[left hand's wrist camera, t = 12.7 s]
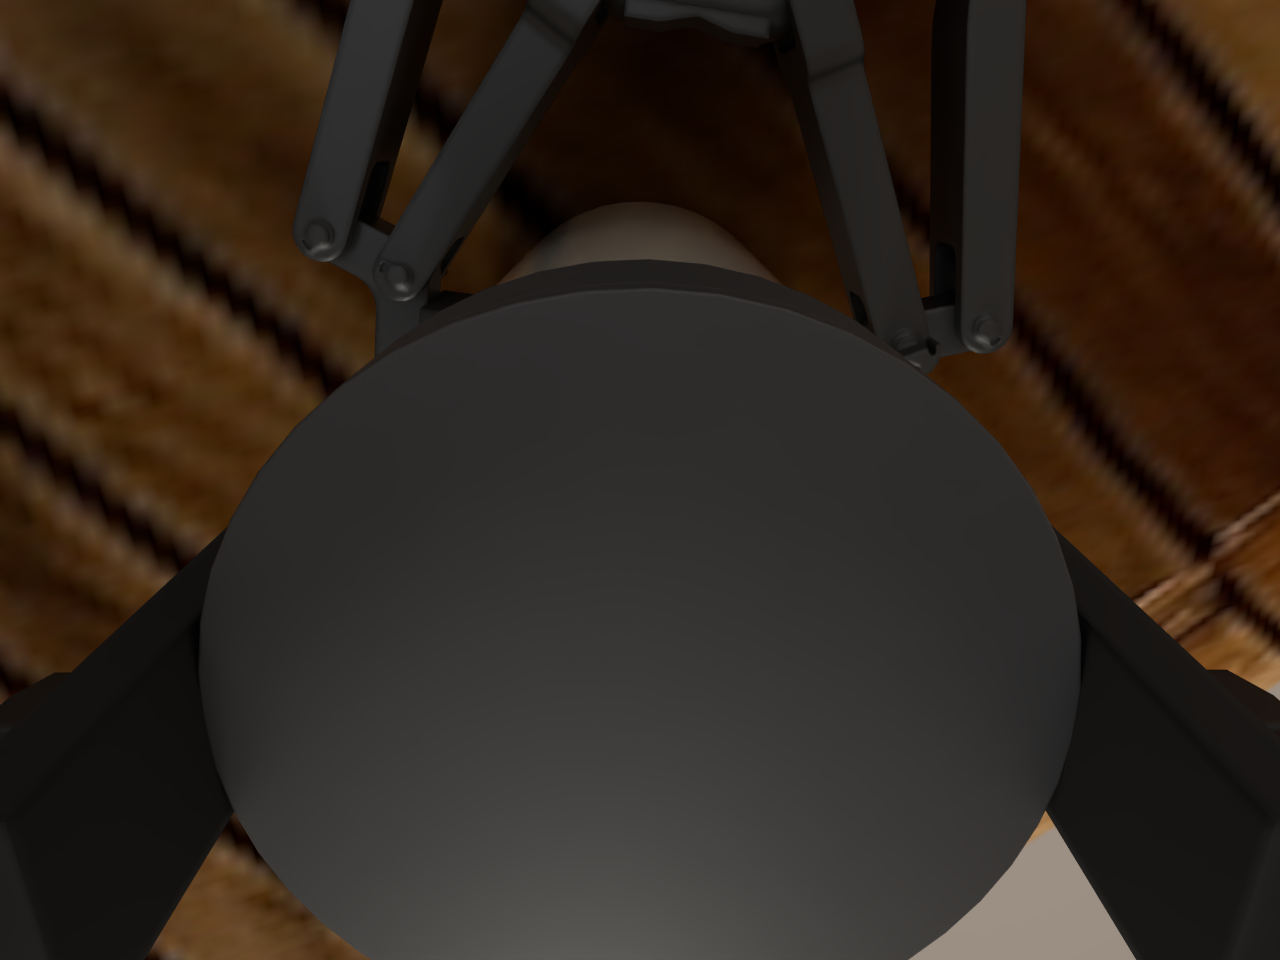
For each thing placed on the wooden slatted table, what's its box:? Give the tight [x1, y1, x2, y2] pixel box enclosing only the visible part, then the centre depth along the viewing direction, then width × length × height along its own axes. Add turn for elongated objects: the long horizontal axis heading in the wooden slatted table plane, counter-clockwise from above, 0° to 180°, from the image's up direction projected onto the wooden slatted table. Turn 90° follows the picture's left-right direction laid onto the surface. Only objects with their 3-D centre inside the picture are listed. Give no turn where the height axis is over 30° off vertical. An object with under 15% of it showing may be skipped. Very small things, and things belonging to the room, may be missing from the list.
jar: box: [495, 202, 784, 286], centre depth 20 cm, size 9×9×19 cm
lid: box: [198, 259, 1081, 960], centre depth 11 cm, size 10×10×2 cm
